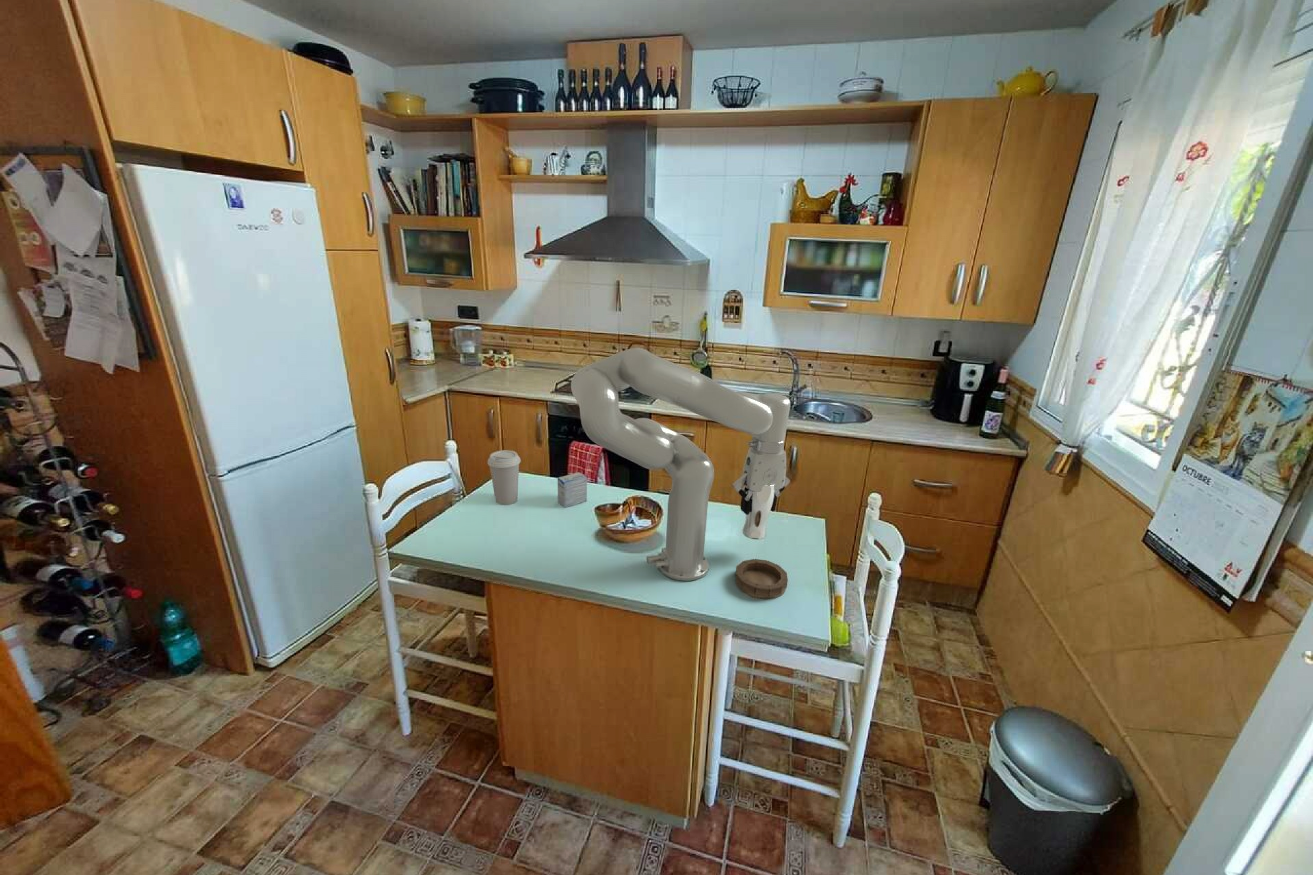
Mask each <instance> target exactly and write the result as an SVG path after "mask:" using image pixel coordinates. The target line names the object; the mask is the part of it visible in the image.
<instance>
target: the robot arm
mask: <svg viewBox="0 0 1313 875" xmlns="http://www.w3.org/2000/svg"><path fill="white" fill-rule="evenodd" d="M570 383H571V384H570V388H571V389H570V390H571V393H572V395H573V397H574V399H575V400H576V402H577V404H578V406H579V407H578V408H579V414H580V415H579V416H580V422H581V426H582V429H583V431H584V433H585V434H586V436H587V437H588V438H589V439H590V440H591V441H592V442H593V443H595V444H596V445H598V446H600V447H602V448H604V449H606V450H608V451H610V452H612V453H614V454H616V455H618V456H620V457H622V458H624V459H627V460H628V461H631V463H632V462H633V463H635V464H637V465H639V466H640V467H642V468H644V469H647V470H652V471H659V470H660V471H661V470H663V469H664V470H665V471H666V472H667V474H668V475H669V476H670V478H671V480H672V481H671V482H672V483H671V484H672V485H671V489H670V491H669V495H668V500H667V501H668V502H667V515H666V516H667V518H666V519H667V520H666V534H665V535H666V537H665V547H662V548H661V552H658V553H657V554H653V555H652V554H651V555H648V556H647V555H646V557H645V558H646V564H648V565H650V564H654V566H655V568H658V569H659V570H660V571H661V573H662V574H664V575H665V576H666V577H668V578H671V579H673V580H677V581H683V582H688V581H690V582H691V581H694V580H695V581H696V580H699V579H701V578H703V577H704V576H706V575H707V574H708V572H709V569H710V567H709V566H710V564H709V560H708V559H707V558H706V557H705V556H704V555H705V554H704V553H705V544H706V532H707V520H708V519H707V518H708V517H707V516H708V507H709V499H710V498H709V497H710V492H711V489H712V485H713V482H714V478H715V477H714V476H715V470H714V465H713V463H712V461H711V458H709V456H708V455H707V454H706V453H705V452H704V451H703V450H702V449H701V448H700V447H699V446H697V445H696V444H695V443H694V442H693V441H691V439H689V438H688V437H687V436H684V435H682V434H681V433H678V432H676V431H675V430H674V429H671V428H669V427H667V426H665V425H663V424H662V423H660V422H657V421H656V420H653V419H651V418H647V417H639V418H636V419H635V418H632V417H631V416H629V415H627V414H624V413H622V411H621V410H620V405H619V404H620V403H619V392H621V391H623V390H626V389H628V388H632V389H633V390H635V391H636V392H638V393H640V394H643V395H645V396H648V397H652V398H654V399H657V400H660V401H661V402H662V401H663V402H664V403H665V402H666V403H668V404H670V405H674V406H677V407H679V408H682V409H684V410H687V411H689V412H691V413H693V414H695V415H698V416H700V417H703V418H707V419H709V420H712V421H714V422H715V423H717V424H718V423H719V424H720V425H723V426H725V427H728V428H731V429H733V430H735V431H739V432H742V433H745V434H747V435H750V436H751V435H752V437H751V438H752V439H751V441H748V442H747V445H748V447H749V448H748V451H747V453H746V457H745V460H744V464H743V468H742V473H741V476H740V477H739V478H738V479H736V481H734V482H733V483H732V487H733V488H734V490H735V491H736V492H737V493H738V494H739V496H740V497H741V499H740V510H741V512H743V513H744V514H745V516H746V515H749V512H750V506H751V500H750V497H751V495H752V494H753V492H760V491H762V487H763V486H770V485H774V490H775V494H774V500H773V505H772V508H771V511H770V512H775V511H776V506H777V502H778V498H779V497H780V496H781V493H782V492H783V491H784V490H785V489H786V487H787V486H788V485H789V484H790V483H791V480H790V479H789V477H787V474H786V472H787V451H786V450H785V449H784V445H785V441H786V440H785V438H786V435H787V434H786V433H787V428H788V422H789V415H790V410H791V401H790V398H789V397H788V396H785V395H782V394H779V393H773V392H772V393H770V392H769V393H763V394H759V393H751V392H745V391H733V390H731V389H729V388H727V387H725V386H724V385H722V384H720V383H718V382H717V381H715V380H714V379H712V378H710V377H709V376H706V375H705V374H703V373H700V372H699V371H698V372H697V371H695V370H692V369H690V368H687V367H685V366H682V365H680V364H677V363H675V362H672V361H670V360H667V359H665V358H663V357H661V356H658V355H656V354H653V353H652V352H651V351H648V350H647V349H645V348H642V347H631V348H628V349H626V350H623V351H619V352H617V353H615V354H612V355H610V356H608V357H605V358H602V359H600V360H598V361H595V362H593V363H589V364H588V365H585V366H583V367H581V368H580V369H578V370H577V372H576V373H575V374H574V375H573V376H572V379H571V382H570ZM742 486H743V487H742ZM748 489H749V490H748ZM747 490H748V492H747ZM746 492H747V494H746Z"/></svg>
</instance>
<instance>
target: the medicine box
mask: <svg viewBox="0 0 1313 875" xmlns="http://www.w3.org/2000/svg"><path fill="white" fill-rule="evenodd" d="M587 494H588V477H587V476H586V475H585V474H583V473H582V472H575V473H571V474H567V475H564V476H559V477H557V502H558V504H559V505H561V507H562V508H564V509H566V508H569V507H573V506H575V505H579V504H582V503H586V502H588V498H587V496H588V495H587Z"/></svg>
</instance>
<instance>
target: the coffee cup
mask: <svg viewBox="0 0 1313 875" xmlns="http://www.w3.org/2000/svg"><path fill="white" fill-rule="evenodd" d="M521 462H522V461H521V457H520V456H519V455H518V452H516V451H515V450H505V449H503V450H498V451H495V452H492V453H490V454H489V457H488V459H487V465H488V466H489V469H490V476H491V482H492V487H493V492H494V493H493V494H494V498H495V499H494V500H495V503H496V504H498V505H500V506H508V505H513V504H515V503H516V502H518V496H519V495H518V493H519V492H518V491H519V471H520V470H519V469H520V463H521Z"/></svg>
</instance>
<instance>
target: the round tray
mask: <svg viewBox="0 0 1313 875" xmlns="http://www.w3.org/2000/svg"><path fill="white" fill-rule="evenodd" d="M735 568H736V570H735V579H734V581H735V584H736V586H737V588H738V589H739V590H740V591H741V592H742V593H743V594H745V595H748V596H750V597H752V598H756V599H760V600H761V599H762V600H772V599H777V598H779V597H781V596H783V595H784V594H785V592H786V589H787V588H788V581H789V579H788V573H787V571H786V570H785V569H784V568H782V566H780V565H779V564H777V563H775V562H773V561H769V560H765V559H757V558H752V559H748V560H747V559H746V560H743V561H742V562H740V563H739V564H737V565H736V567H735Z"/></svg>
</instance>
